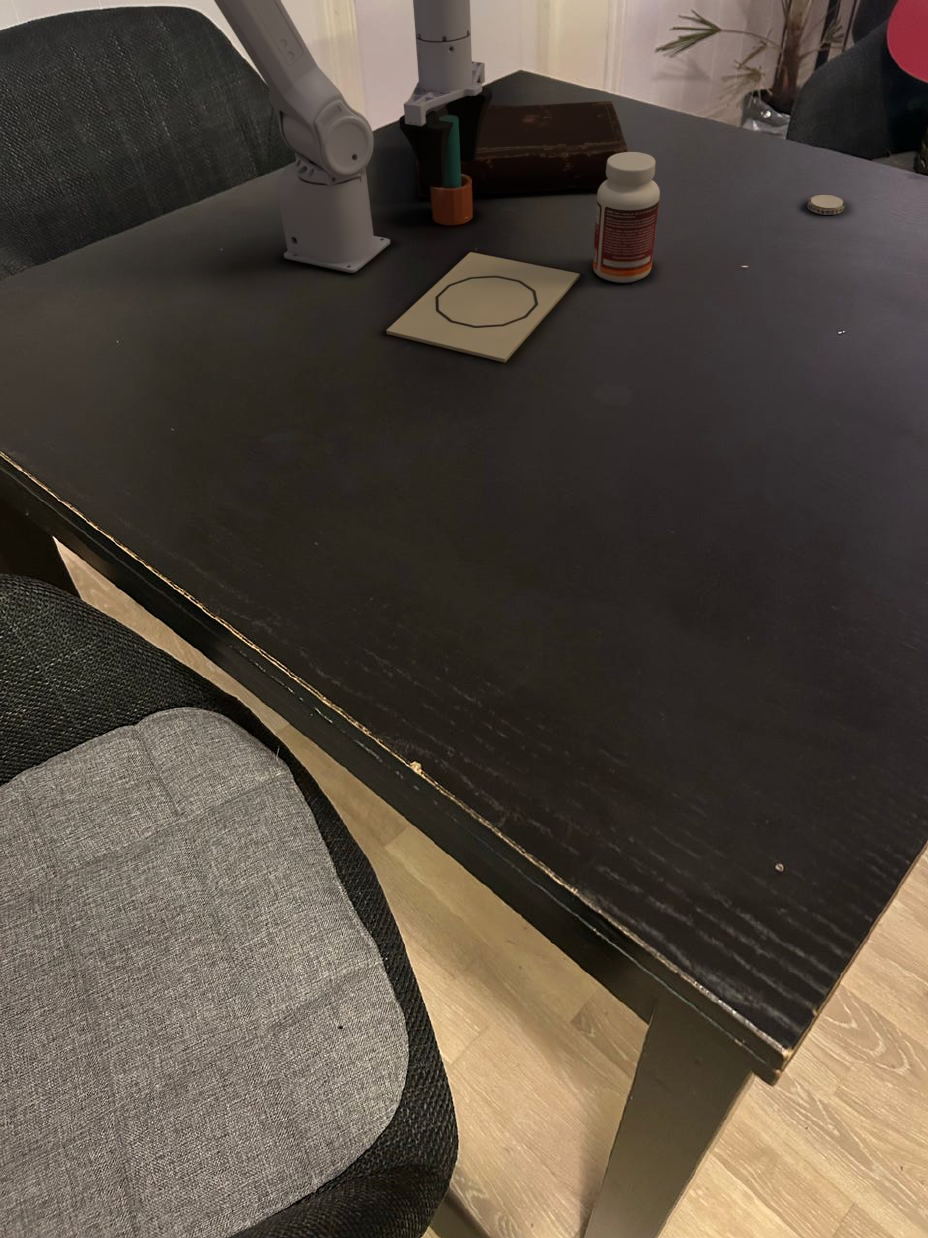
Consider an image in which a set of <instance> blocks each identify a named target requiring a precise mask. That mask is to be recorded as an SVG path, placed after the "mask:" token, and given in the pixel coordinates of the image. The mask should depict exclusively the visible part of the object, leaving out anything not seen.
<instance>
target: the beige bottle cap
mask: <svg viewBox="0 0 928 1238" xmlns="http://www.w3.org/2000/svg"><path fill="white" fill-rule="evenodd" d="M806 206H807V209H808V210H809V211H811V212H813V213H815V214H819V215H838V214H841V213H842V212H844V210H845V206H846V202H845V200H844V199H843V198H841V197H839V196H836V195H832V194H817V195H813V196H811V197H809V198H808V201H807V205H806Z"/></svg>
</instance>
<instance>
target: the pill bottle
mask: <svg viewBox="0 0 928 1238" xmlns="http://www.w3.org/2000/svg"><path fill="white" fill-rule="evenodd" d="M655 174H656V159H655V157H653V156H652V155H650V154H648V153H644V152H639V151H628V152H624V153H618V154H615V155H612V156H611V157H609V158H608V160H607V166H606V176H607V178H608V179H607V180H606V181H604V182H603V183H602V184H601V186H600V187H599V188H597V193H596V208H595V222H594V223H595V224H594V237H593V238H594V239H593V256H592V269H593V272H594V273H595V274H596V275H597V276H598V277H599V278H601V279H603V280H605V281H609V282H613V283H620V284H621V283H623V284H625V283H627V284H628V283H633V282H636V281H640V280H641V279H642V280H643V279H644V278H645V277H647V276H648V275H649V274H650V272H651V270H652V266H653V260H654V259H653V257H654V252H655V251H654V250H655V242H656V231H657V223H658V214H659V208H660V206H659V205H660V195H661V191H660V187H659V185H658V183H656V181H654V180H653V179H654V177H655Z"/></svg>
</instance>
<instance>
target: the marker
mask: <svg viewBox="0 0 928 1238" xmlns="http://www.w3.org/2000/svg"><path fill="white" fill-rule="evenodd" d="M439 120H441V121H448V122H453V126H452V129H451V131H450V135H449V139H448V143H447V150H446V165H445V181H444V186H443V187H442V188H446V189H449V188H458V187H461V165H460V143H459V120H458V117H457V116H454V115H445V116H442V117H440V118H439Z"/></svg>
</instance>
